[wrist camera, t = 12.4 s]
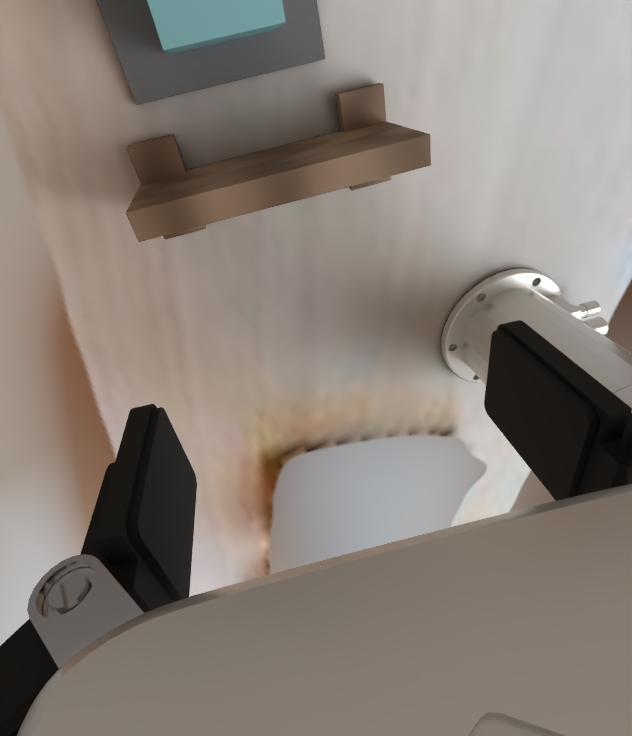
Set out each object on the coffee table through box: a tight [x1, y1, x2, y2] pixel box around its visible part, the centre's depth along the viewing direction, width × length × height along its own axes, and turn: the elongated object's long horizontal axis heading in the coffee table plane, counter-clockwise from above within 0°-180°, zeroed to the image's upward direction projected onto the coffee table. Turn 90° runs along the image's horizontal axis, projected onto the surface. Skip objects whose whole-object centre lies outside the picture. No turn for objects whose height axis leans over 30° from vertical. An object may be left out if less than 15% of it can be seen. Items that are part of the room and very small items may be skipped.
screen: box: [126, 83, 431, 242], centre depth 26 cm, size 17×6×8 cm, turn 101°
